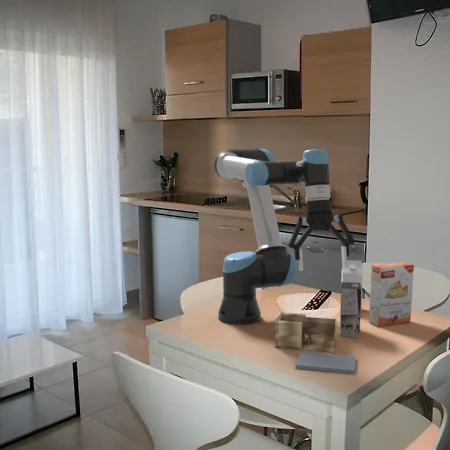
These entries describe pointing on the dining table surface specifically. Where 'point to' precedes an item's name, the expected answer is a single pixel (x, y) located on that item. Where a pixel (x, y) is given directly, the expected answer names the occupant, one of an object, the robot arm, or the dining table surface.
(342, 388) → the dining table surface
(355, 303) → the coffee box
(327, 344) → the holder
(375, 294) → the cracker box
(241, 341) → the dining table surface
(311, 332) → the bar
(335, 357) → the mat
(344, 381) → the dining table surface
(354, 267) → the milk carton
